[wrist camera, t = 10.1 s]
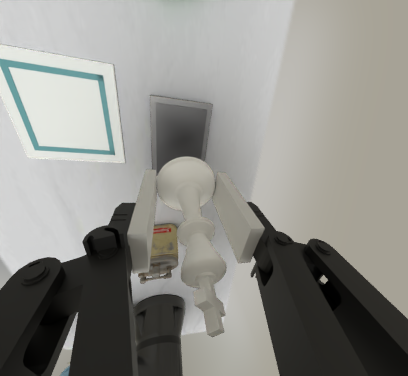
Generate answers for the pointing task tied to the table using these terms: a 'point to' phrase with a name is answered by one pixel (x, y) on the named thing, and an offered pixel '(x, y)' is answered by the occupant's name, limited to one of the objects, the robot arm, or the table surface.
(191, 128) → the ink pad
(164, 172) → the chess piece
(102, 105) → the print card
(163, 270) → the lighter
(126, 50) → the table surface
